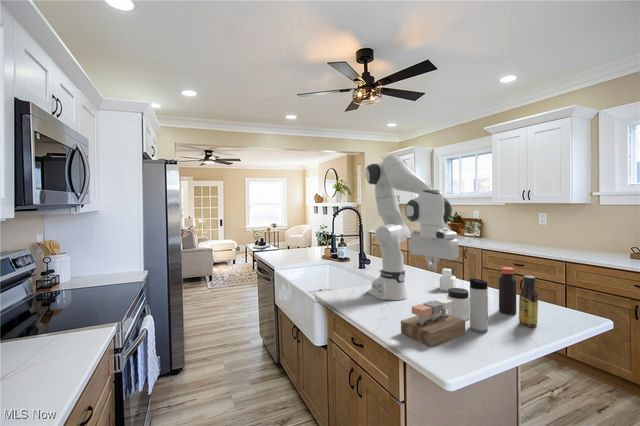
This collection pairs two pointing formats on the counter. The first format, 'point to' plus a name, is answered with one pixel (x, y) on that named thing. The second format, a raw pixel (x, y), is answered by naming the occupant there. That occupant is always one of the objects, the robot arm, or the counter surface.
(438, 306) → the key slate
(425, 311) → the key terracotta
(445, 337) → the keypad base
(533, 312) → the sauce bottle
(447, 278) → the medicine bottle
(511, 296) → the vinegar
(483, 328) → the travel mug
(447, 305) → the cream block
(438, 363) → the counter surface
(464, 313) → the jar
